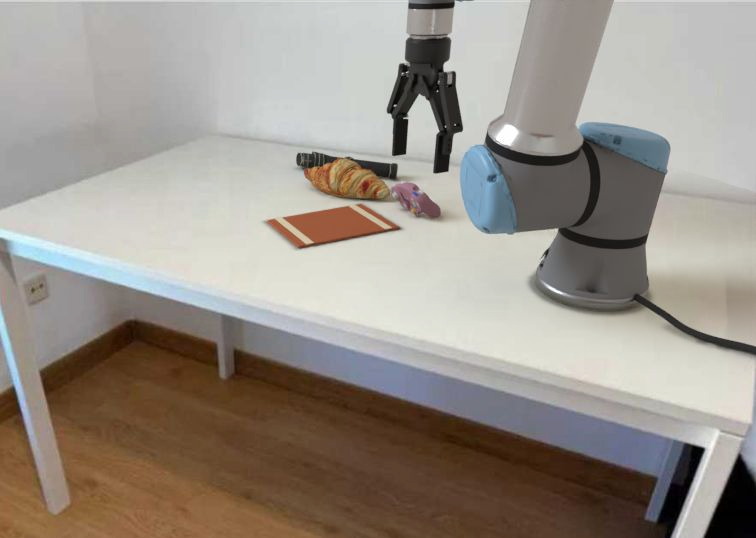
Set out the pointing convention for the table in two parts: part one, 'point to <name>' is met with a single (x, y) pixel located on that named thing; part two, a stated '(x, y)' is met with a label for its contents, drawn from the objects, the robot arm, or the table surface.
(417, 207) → the video game controller
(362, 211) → the tea towel
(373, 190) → the croissant
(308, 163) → the twine-wrapped black handle
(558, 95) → the robot arm
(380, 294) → the table surface
